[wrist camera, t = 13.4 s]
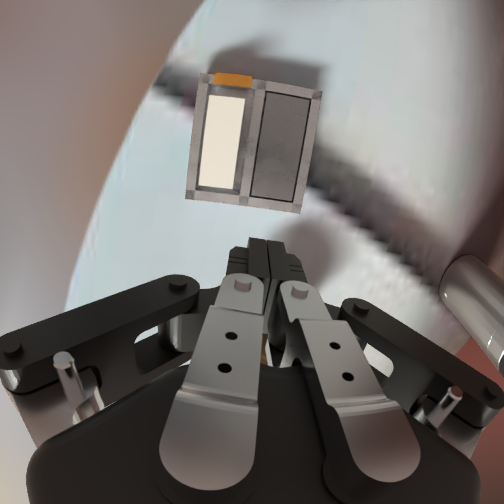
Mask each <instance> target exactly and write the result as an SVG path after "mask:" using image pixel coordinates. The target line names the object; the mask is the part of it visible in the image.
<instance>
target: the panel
mask: <svg viewBox="0 0 504 504" xmlns="http://www.w3.org/2000/svg"><path fill="white" fill-rule="evenodd" d="M244 108H245V99H243V98H234V97H225V96H214V95H209V102H208V109H207V116H206V124H205V132H204V140H203V148H202V157H201V166H200V176H199V185H201V186H210V187H219V188H227V189H233V184H234V178H235V172H236V164H237V157H238V150H239V143H240V136H241V129H242V122H243V115H244Z"/></svg>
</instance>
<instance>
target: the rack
mask: <svg viewBox="0 0 504 504" xmlns="http://www.w3.org/2000/svg"><path fill="white" fill-rule="evenodd" d="M209 95H214V96H225V97H234V98H243V99H245V108H244V115H243V122H242V129H241V136H240V143H239V150H238V157H237V164H236V172H235V178H234V184H233V189H227V188H219V187H210V186H201V185H199V176H200V166H201V157H202V148H203V140H204V132H205V124H206V116H207V109H208V102H209ZM321 97H322V91H318V90H313V89H309V88H304V87H299V86H294V85H289V84H283V83H277V82H271V81H265V80H258V79H252V76H247V75H239V74H230V73H219V72H216V73H215V74H202V73H200V78H199V84H198V91H197V98H196V105H195V112H194V120H193V128H192V136H191V144H190V153H189V163H188V173H187V184H186V195H185V199H192V200H200V201H209V202H217V203H226V204H234V205H241V206H249V207H257V208H264V209H271V210H278V211H285V212H292V213H298V214H300V212H301V207H302V202H303V197H304V192H305V187H306V181H307V176H308V171H309V166H310V160H311V155H312V149H313V144H314V138H315V133H316V127H317V121H318V115H319V109H320V103H321Z"/></svg>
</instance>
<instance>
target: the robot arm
mask: <svg viewBox="0 0 504 504" xmlns="http://www.w3.org/2000/svg"><path fill="white" fill-rule="evenodd" d="M439 294H440V298H441V300H442V301H443V302H444V303H445V305H446V306H447V307H448V308H449V309H450V310H451V311H452V313H453V314H454V315H455V316H456V317H457V319H458V320H459V321H460V322H461V323H462V325H463V326H464V327H465V328H466V329H467V331H468V332H469V333H470V334H471V336H472V337H473V338H474V339H475V340H476V342H477V343H478V344H479V346H480V347H481V348H482V349H483V351H484V352H485V353H486V354H487V356H488V357H489V358H490V360H491V361H492V362H493V364H494V365H495V366H496V368H497V369H498V370H499V372H500V373H501V375H502V376H503V377H504V280H503V279H502V278H501V277H499V276H498V275H497V274H496V273H495V272H493V271H492V270H491V269H490V268H489V267H487V266H486V265H485V264H484V263H482V262H481V261H480V260H479V259H477V258H476V257H475V256H473V255H464V256H462V257H460V258H458V259H457V260H455V261H454V262H453V263H452V264H451V265H450V266H449V267H448V269H447V270H446V272H445V274H444V276H443V278H442V280H441V283H440V288H439ZM157 325H158V333H156V334H154V335H152V336H149V337H147V338H145V339H143V340H141V341H139V342H137V343H135V344H134V342H135V340H136V338H137V337H138V336H139V335H140V334H141V333H142V332H144V331H147V330H149V329H151V328H153V327H155V326H157ZM262 333H264V334H268V339H267V343H266V347H265V350H266V356H267V362H268V365H265V364H262V363H260V359H261V346H262ZM367 343H368V344H369V345H371V346H372V347H374V348H375V349H377V350H378V351H380V352H381V353H382V354H384V355H385V356H387V357H388V358H389V359H390V360H391V361H392V363H393V366H394V369H393V372H392V374H391V375H390V377H387V376H385V375H384V374H383V373H381V372H380V371H378V370H377V369H376V368H374V367H373V366H371V365H370V364H369V363H368V361H367V359H366V357H365V355H364V353H363V351H364V349H365V347H366V345H367ZM190 359H191V361H190V364H188V365H183V366H180V365H182V364H184V363H185V362H187V361H189V360H190ZM178 366H180V367H178ZM0 378H1V382H2V385H3V386H4V388H5V390H6V392H7V393H8V395H9V397H10V399H11V400H12V402H13V404H14V405H15V407H16V408H17V410H18V411H19V412H20V414H21V417H22V419H23V421H24V423H25V425H26V427H27V429H28V431H29V433H30V435H31V437H32V439H33V441H34V443H35V445H36V447H37V450H36V451H35V452H34V454H33V455H32V457H31V459H30V462H29V464H28V468H27V473H26V485H27V492H28V497H29V502H30V504H480V494H481V484H480V477H479V474H478V471H477V469H476V467H475V466H474V464H473V463H472V461H471V460H470V458H471V456H472V454H473V451H474V449H475V447H476V444H477V442H478V439H479V437H480V434H481V432H482V431H483V429H484V428H485V427H486V426H487V425H488V424H489V423H490V422H491V421H492V420H493V419H494V417H495V416H496V415H497V414H498V413H499V412H500V411H501V409H502V408H503V407H504V392H503V390H502V389H501V388H500V387H499V385H497V384H496V383H495V382H493V381H492V380H490V379H489V378H487V377H486V376H484V375H483V374H481V373H480V372H478V371H477V370H475V369H474V368H472V367H471V366H469V365H467V364H466V363H464V362H463V361H461V360H460V359H458V358H457V357H455V356H454V355H452V354H450V353H449V352H447V351H446V350H444V349H443V348H441V347H439V346H438V345H436V344H435V343H433V342H432V341H430V340H428V339H427V338H425V337H424V336H422V335H421V334H419V333H417V332H416V331H414V330H413V329H411V328H409V327H408V326H406V325H405V324H403V323H402V322H400V321H398V320H397V319H395V318H394V317H392V316H390V315H389V314H387V313H386V312H384V311H382V310H381V309H379V308H377V307H376V306H374V305H373V304H371V303H369V302H367V301H365V300H362V299H358V298H348V299H345V300H344V301H343V302H342V305H341V308H339V307H336V306H333V305H329V304H326V303H324V302H323V300H322V298H321V296H320V294H319V292H318V290H317V289H316V288H315V287H313V286H312V285H310V284H308V283H307V280H306V277H305V274H304V271H303V268H302V265H301V262H300V260H299V259H298V258H297V257H296V256H295V255H292V254H286V250H285V246H284V243H283V242H278V241H271V240H267V241H266V240H264V239H258V238H251V237H249V240H248V246H247V248H244V247H237V246H235V247H234V248H233V249H231V250H230V253H229V259H228V265H227V271H226V276H225V277H224V278H223V280H222V283H221V285H220V286H218V287H215V288H210V289H200V285H199V283H198V282H197V281H196V280H195V279H193V278H191V277H189V276H185V275H175V274H174V275H167V276H164V277H161V278H158V279H156V280H153V281H150V282H147V283H144V284H142V285H139V286H136V287H133V288H131V289H128V290H125V291H122V292H119V293H117V294H114V295H111V296H108V297H106V298H103V299H100V300H97V301H94V302H92V303H89V304H86V305H83V306H81V307H78V308H75V309H72V310H70V311H67V312H64V313H62V314H59V315H56V316H53V317H51V318H48V319H45V320H42V321H40V322H37V323H34V324H31V325H29V326H26V327H23V328H21V329H18V330H15V331H12V332H10V333H7V334H5V335H3V336H1V337H0ZM426 395H427V396H426ZM114 402H115V403H114ZM112 403H113V404H112ZM110 404H111V405H110ZM108 405H109V406H108ZM106 406H108V407H106ZM104 407H106V408H104Z"/></svg>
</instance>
